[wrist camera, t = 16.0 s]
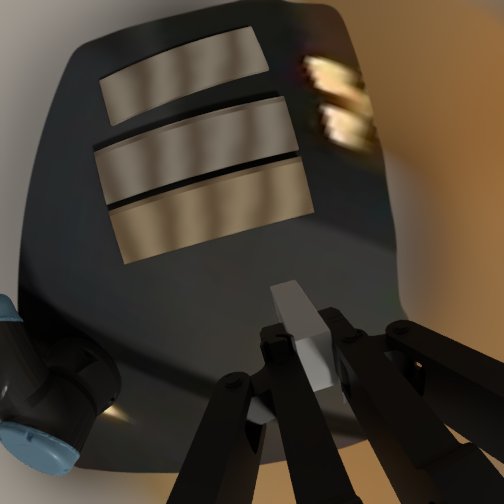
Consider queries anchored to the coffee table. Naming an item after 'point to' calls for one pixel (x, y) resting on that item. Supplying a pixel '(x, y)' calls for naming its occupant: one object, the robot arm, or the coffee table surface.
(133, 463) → the coffee table surface
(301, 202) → the laid board
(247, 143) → the board
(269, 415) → the robot arm
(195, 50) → the plank
